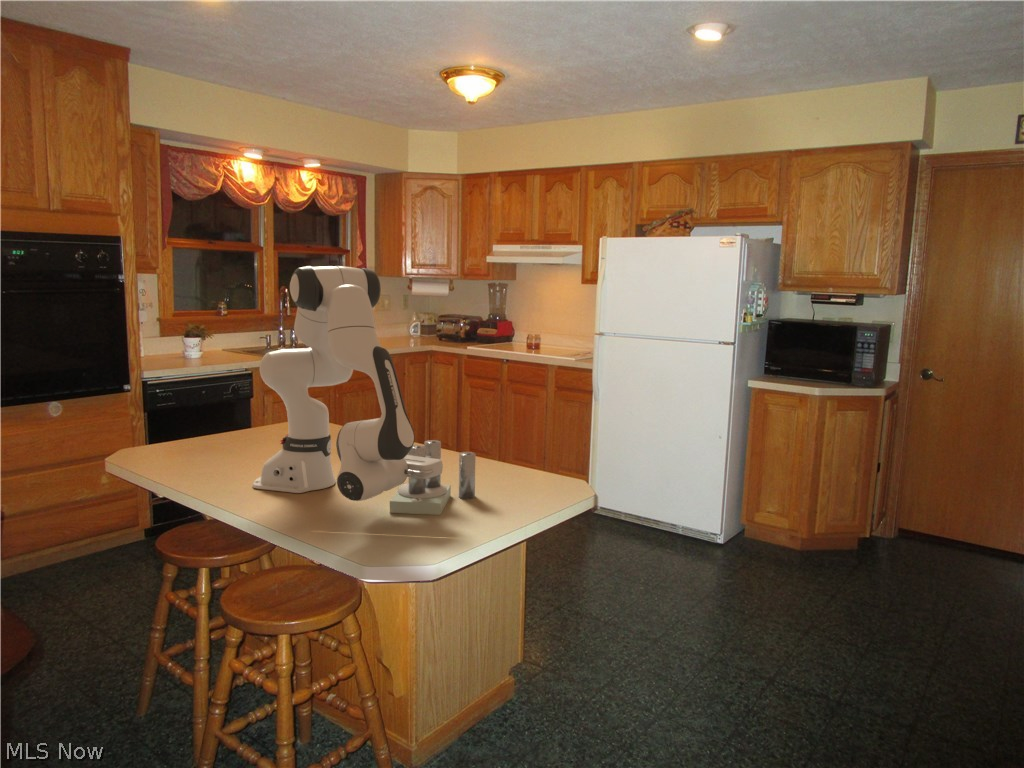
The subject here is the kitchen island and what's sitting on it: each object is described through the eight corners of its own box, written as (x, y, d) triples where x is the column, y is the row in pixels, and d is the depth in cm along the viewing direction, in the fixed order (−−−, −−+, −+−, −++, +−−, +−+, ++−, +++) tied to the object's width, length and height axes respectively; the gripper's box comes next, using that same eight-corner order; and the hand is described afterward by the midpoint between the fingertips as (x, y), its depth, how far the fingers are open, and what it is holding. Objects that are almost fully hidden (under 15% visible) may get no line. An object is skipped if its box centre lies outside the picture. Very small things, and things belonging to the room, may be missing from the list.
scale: (389, 512, 180) (389, 498, 179) (403, 493, 195) (403, 481, 195) (440, 514, 179) (440, 501, 178) (450, 495, 195) (450, 483, 194)
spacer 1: (406, 494, 183) (406, 448, 182) (410, 489, 188) (410, 444, 186) (423, 494, 183) (423, 449, 181) (426, 489, 187) (427, 445, 186)
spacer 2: (422, 487, 189) (422, 443, 188) (425, 482, 194) (426, 439, 192) (439, 488, 189) (439, 444, 187) (441, 483, 193) (442, 440, 192)
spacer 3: (457, 498, 192) (458, 455, 191) (460, 493, 197) (460, 451, 195) (473, 499, 192) (474, 456, 190) (475, 494, 196) (476, 452, 195)
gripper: (426, 462, 168) (454, 450, 180) (354, 452, 176) (386, 441, 189) (426, 488, 169) (454, 474, 181) (355, 477, 177) (386, 464, 190)
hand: (419, 457), depth 185 cm, fingers closed on spacer 1, 4 cm apart
